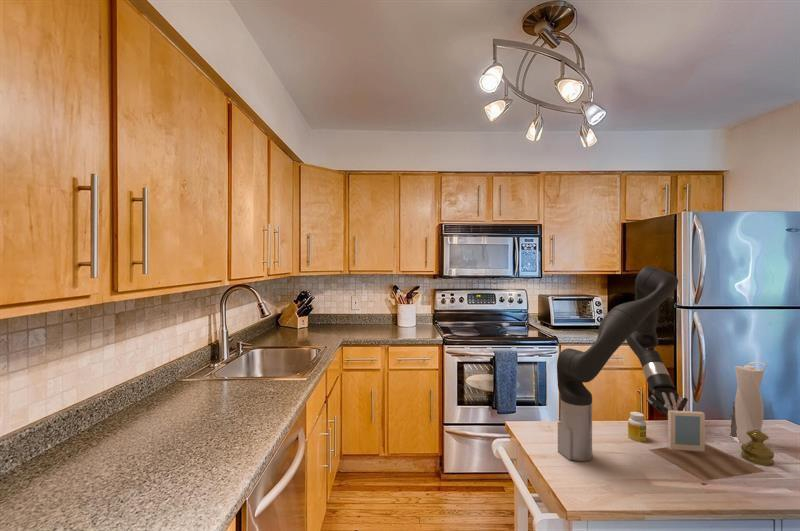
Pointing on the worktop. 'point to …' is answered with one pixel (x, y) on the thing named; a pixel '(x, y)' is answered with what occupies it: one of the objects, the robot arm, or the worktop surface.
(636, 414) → the supplement bottle
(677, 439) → the tile
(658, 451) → the board
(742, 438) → the skyscraper
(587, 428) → the robot arm
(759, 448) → the brass knob
